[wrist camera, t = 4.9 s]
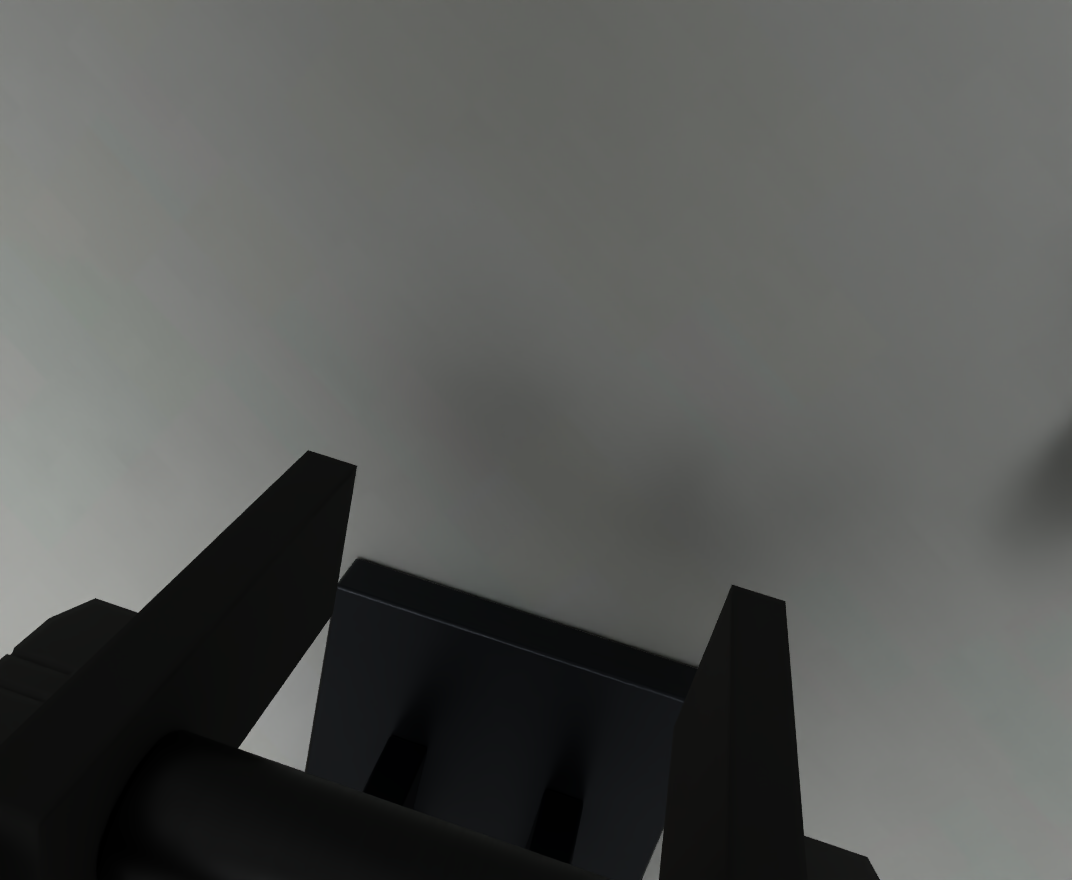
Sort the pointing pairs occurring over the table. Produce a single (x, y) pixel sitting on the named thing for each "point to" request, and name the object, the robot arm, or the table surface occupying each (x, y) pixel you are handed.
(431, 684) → the bracket
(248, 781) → the lever
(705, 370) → the table surface
